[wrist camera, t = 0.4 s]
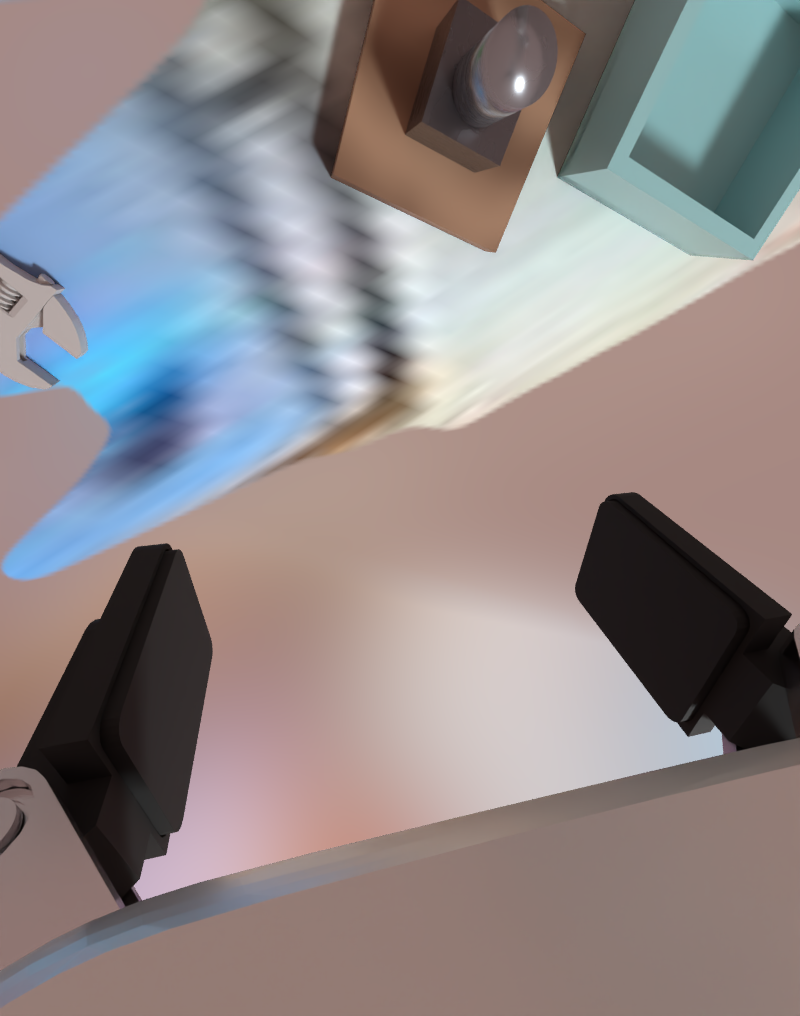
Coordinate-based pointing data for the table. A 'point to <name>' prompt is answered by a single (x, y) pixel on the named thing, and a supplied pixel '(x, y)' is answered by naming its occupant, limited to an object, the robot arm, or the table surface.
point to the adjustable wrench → (34, 323)
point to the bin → (697, 123)
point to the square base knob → (481, 82)
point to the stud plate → (409, 164)
